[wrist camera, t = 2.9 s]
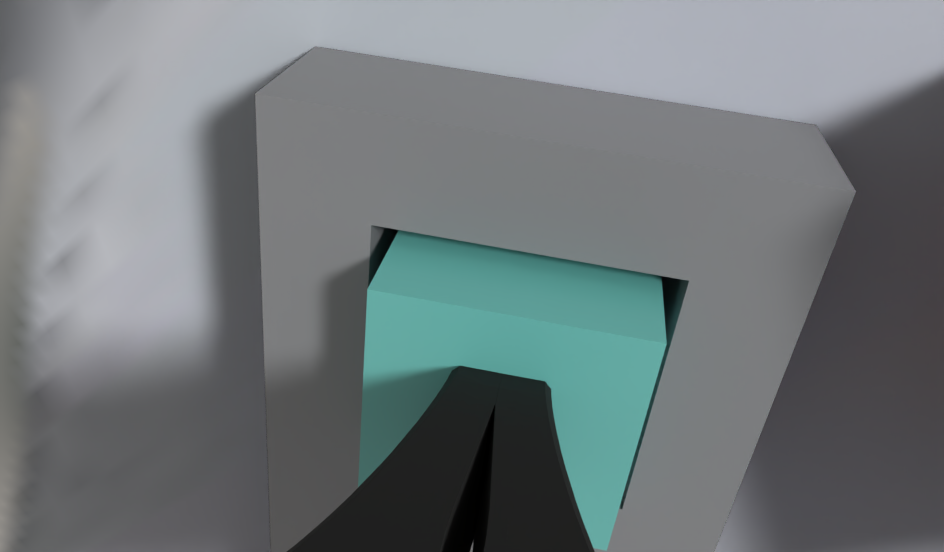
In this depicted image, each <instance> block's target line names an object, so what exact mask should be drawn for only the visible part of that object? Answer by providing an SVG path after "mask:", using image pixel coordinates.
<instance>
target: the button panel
mask: <svg viewBox="0 0 944 552" xmlns="http://www.w3.org/2000/svg"><path fill="white" fill-rule="evenodd" d="M255 107H256V136H257V166H258V195H259V224H260V254H261V283H262V312H263V342H264V371H265V400H266V429H267V459H268V488H269V517H270V547H271V552H287V551H288V550H289V549H291V548H292V547H293V546H294V545H296V544H297V543H298V542H299V541H300V540H302V539H303V538H304V537H305V536H306V535H307V534H309V533H310V532H311V531H312V530H313V529H314V528H316V527H317V526H318V525H319V524H320V523H321V522H322V521H324V520H325V519H326V518H327V517H328V516H329V515H330V514H331V513H332V512H333V511H335V510H336V509H337V508H338V507H339V506H340V505H341V504H342V503H343V502H344V501H345V500H346V499H347V498H348V497H349V496H350V495H351V494H352V493H353V492H354V491H355V490H356V489H357V488H358V477H359V456H360V435H361V414H362V393H363V372H364V350H365V329H366V308H367V289H368V287H369V285H370V283H371V282H372V280H373V278H374V276H375V274H376V272H377V270H378V268H379V266H380V265H381V263H382V261H383V259H384V257H385V255H386V253H387V251H388V250H389V248H390V246H391V244H392V242H393V240H394V238H395V236H396V235H397V233H398V231H399V230H402V231H408V232H414V233H419V234H425V235H431V236H436V237H442V238H448V239H454V240H459V241H465V242H471V243H476V244H482V245H488V246H493V247H499V248H505V249H511V250H516V251H522V252H528V253H533V254H539V255H545V256H551V257H556V258H562V259H568V260H573V261H579V262H585V263H590V264H596V265H602V266H608V267H613V268H619V269H625V270H630V271H636V272H642V273H648V274H653V275H659V276H661V277H662V289H663V302H664V315H665V328H666V341H667V345H666V348H665V352H664V355H663V358H662V362H661V365H660V369H659V372H658V376H657V379H656V383H655V386H654V390H653V393H652V396H651V400H650V403H649V407H648V410H647V414H646V417H645V421H644V424H643V427H642V431H641V434H640V438H639V441H638V445H637V448H636V452H635V455H634V458H633V462H632V465H631V469H630V472H629V476H628V479H627V483H626V486H625V490H624V493H623V496H622V500H621V503H620V507H619V510H618V514H617V517H616V521H615V524H614V527H613V531H612V534H611V538H610V541H609V545H608V548H607V551H605V550H600V549H595V548H593V549H594V551H595V552H714V551H715V549H716V546H717V543H718V541H719V538H720V536H721V533H722V531H723V528H724V526H725V523H726V521H727V518H728V516H729V513H730V510H731V508H732V505H733V503H734V500H735V498H736V495H737V493H738V490H739V488H740V485H741V483H742V480H743V477H744V475H745V472H746V470H747V467H748V465H749V462H750V460H751V457H752V455H753V452H754V450H755V447H756V444H757V442H758V439H759V437H760V434H761V432H762V429H763V427H764V424H765V422H766V419H767V417H768V414H769V411H770V409H771V406H772V404H773V401H774V399H775V396H776V394H777V391H778V389H779V386H780V384H781V381H782V378H783V376H784V373H785V371H786V368H787V366H788V363H789V361H790V358H791V356H792V353H793V350H794V348H795V345H796V343H797V340H798V338H799V335H800V333H801V330H802V328H803V325H804V323H805V320H806V317H807V315H808V312H809V310H810V307H811V305H812V302H813V300H814V297H815V295H816V292H817V290H818V287H819V284H820V282H821V279H822V277H823V274H824V272H825V269H826V267H827V264H828V262H829V259H830V257H831V254H832V251H833V249H834V246H835V244H836V241H837V239H838V236H839V234H840V231H841V229H842V226H843V224H844V221H845V218H846V216H847V213H848V211H849V208H850V206H851V203H852V201H853V198H854V196H855V193H856V191H855V189H854V187H853V186H852V184H851V182H850V181H849V179H848V177H847V176H846V174H845V172H844V171H843V169H842V167H841V166H840V164H839V162H838V161H837V159H836V157H835V156H834V154H833V152H832V151H831V149H830V147H829V146H828V144H827V142H826V141H825V139H824V137H823V136H822V134H821V132H820V131H819V129H818V127H817V126H816V125H812V124H806V123H800V122H793V121H787V120H781V119H774V118H768V117H761V116H755V115H749V114H742V113H736V112H730V111H723V110H717V109H710V108H704V107H698V106H691V105H685V104H679V103H672V102H666V101H659V100H653V99H647V98H640V97H634V96H628V95H621V94H615V93H608V92H602V91H596V90H589V89H583V88H577V87H570V86H564V85H557V84H551V83H545V82H538V81H532V80H526V79H519V78H513V77H507V76H500V75H494V74H487V73H481V72H475V71H468V70H462V69H456V68H449V67H443V66H436V65H430V64H424V63H417V62H411V61H405V60H398V59H392V58H385V57H379V56H373V55H366V54H360V53H354V52H347V51H341V50H334V49H328V48H322V47H314V48H313V49H312V50H310V51H309V52H308V53H306V54H305V55H304V56H303V57H301V58H300V59H299V60H297V61H296V62H295V63H294V64H292V65H291V66H290V67H288V68H287V69H286V70H285V71H283V72H282V73H281V74H280V75H278V76H277V77H276V78H274V79H273V80H272V81H271V82H269V83H268V84H267V85H265V86H264V87H263V88H262V89H260V90H259V91H258V92H256V93H255ZM473 541H474V540H473ZM472 551H473V543H472V547H471V550H470V552H472Z"/></svg>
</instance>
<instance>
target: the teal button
mask: <svg viewBox="0 0 944 552" xmlns="http://www.w3.org/2000/svg"><path fill="white" fill-rule="evenodd" d="M666 345H667V341H666V328H665V315H664V302H663V289H662V277H661V276H659V275H653V274H648V273H642V272H636V271H630V270H625V269H619V268H613V267H608V266H602V265H596V264H590V263H585V262H579V261H573V260H568V259H562V258H556V257H551V256H545V255H539V254H533V253H528V252H522V251H516V250H511V249H505V248H499V247H493V246H488V245H482V244H476V243H471V242H465V241H459V240H454V239H448V238H442V237H436V236H431V235H425V234H419V233H414V232H408V231H402V230H399V231H398V233H397V235H396V236H395V238H394V240H393V242H392V244H391V246H390V248H389V250H388V251H387V253H386V255H385V257H384V259H383V261H382V263H381V265H380V266H379V268H378V270H377V272H376V274H375V276H374V278H373V280H372V282H371V283H370V285H369V287H368V289H367V308H366V329H365V350H364V372H363V393H362V414H361V435H360V456H359V477H358V487H359V486H360V485H361V484H362V483H363V482H364V481H365V480H366V479H367V478H368V477H369V476H370V475H371V474H372V473H373V472H374V471H375V469H376V468H377V467H378V466H379V465H380V464H381V463H382V462H383V461H384V460H385V459H386V458H387V457H388V456H389V454H390V453H391V452H392V451H393V450H394V449H395V447H396V446H397V445H398V444H399V443H400V442H401V440H402V439H403V438H404V437H405V436H406V434H407V433H408V432H409V431H410V430H411V428H412V427H413V426H414V425H415V424H416V422H417V421H418V420H419V419H420V417H421V416H422V415H423V413H424V412H425V411H426V409H427V408H428V407H429V405H430V404H431V403H432V401H433V400H434V399H435V397H436V396H437V394H438V393H439V391H440V390H441V388H442V387H443V385H444V383H445V382H446V380H447V379H448V377H449V375H450V373H451V371H452V370H454V369H455V368H457V367H459V366H466V367H471V368H476V369H482V370H487V371H492V372H498V373H502V374H508V375H513V376H519V377H524V378H530V379H535V380H541V381H545V382H546V383H547V384H548V386H549V387H550V388H551V397H552V407H553V414H554V420H555V426H556V431H557V435H558V440H559V444H560V449H561V453H562V456H563V460H564V464H565V467H566V471H567V474H568V477H569V480H570V484H571V487H572V490H573V493H574V497H575V500H576V503H577V506H578V508H579V511H580V514H581V517H582V520H583V523H584V525H585V528H586V530H587V533H588V536H589V538H590V541H591V543H592V546H593V548H595V549H600V550H605V551H607V548H608V545H609V541H610V538H611V534H612V531H613V527H614V524H615V521H616V517H617V514H618V510H619V507H620V503H621V500H622V496H623V493H624V490H625V486H626V483H627V479H628V476H629V472H630V469H631V465H632V462H633V458H634V455H635V452H636V448H637V445H638V441H639V438H640V434H641V431H642V427H643V424H644V421H645V417H646V414H647V410H648V407H649V403H650V400H651V396H652V393H653V390H654V386H655V383H656V379H657V376H658V372H659V369H660V365H661V362H662V358H663V355H664V352H665V348H666Z"/></svg>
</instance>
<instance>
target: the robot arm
mask: <svg viewBox="0 0 944 552" xmlns="http://www.w3.org/2000/svg"><path fill="white" fill-rule="evenodd" d="M473 540H474V541H473ZM472 543H473V551H472V552H595V551H594V549H593V546H592V543H591V541H590V538H589V536H588V533H587V530H586V528H585V525H584V523H583V520H582V517H581V514H580V511H579V508H578V506H577V503H576V500H575V497H574V493H573V490H572V487H571V484H570V480H569V477H568V474H567V471H566V467H565V464H564V460H563V456H562V453H561V449H560V444H559V440H558V435H557V431H556V426H555V420H554V414H553V407H552V397H551V388H550V387H549V386H548V384H547V383H546V382H545V381H541V380H535V379H530V378H524V377H519V376H513V375H508V374H502V373H498V372H492V371H487V370H482V369H476V368H471V367H466V366H459V367H457V368H455V369H454V370H452V371H451V373H450V375H449V377H448V379H447V380H446V382H445V383H444V385H443V387H442V388H441V390H440V391H439V393H438V394H437V396H436V397H435V399H434V400H433V401H432V403H431V404H430V405H429V407H428V408H427V409H426V411H425V412H424V413H423V415H422V416H421V417H420V419H419V420H418V421H417V422H416V424H415V425H414V426H413V427H412V428H411V430H410V431H409V432H408V433H407V434H406V436H405V437H404V438H403V439H402V440H401V442H400V443H399V444H398V445H397V446H396V447H395V449H394V450H393V451H392V452H391V453H390V454H389V456H388V457H387V458H386V459H385V460H384V461H383V462H382V463H381V464H380V465H379V466H378V467H377V468H376V469H375V471H374V472H373V473H372V474H371V475H370V476H369V477H368V478H367V479H366V480H365V481H364V482H363V483H362V484H361V485H360V486H359V487H358V488H357V489H356V490H355V491H354V492H353V493H352V494H351V495H350V496H349V497H348V498H347V499H346V500H345V501H344V502H343V503H342V504H341V505H340V506H339V507H338V508H337V509H336V510H335V511H333V512H332V513H331V514H330V515H329V516H328V517H327V518H326V519H325V520H324V521H322V522H321V523H320V524H319V525H318V526H317V527H316V528H314V529H313V530H312V531H311V532H310V533H309V534H307V535H306V536H305V537H304V538H303V539H302V540H300V541H299V542H298V543H297V544H296V545H294V546H293V547H292V548H291V549H289V550H288V551H287V552H470V550H471V547H472Z"/></svg>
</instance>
